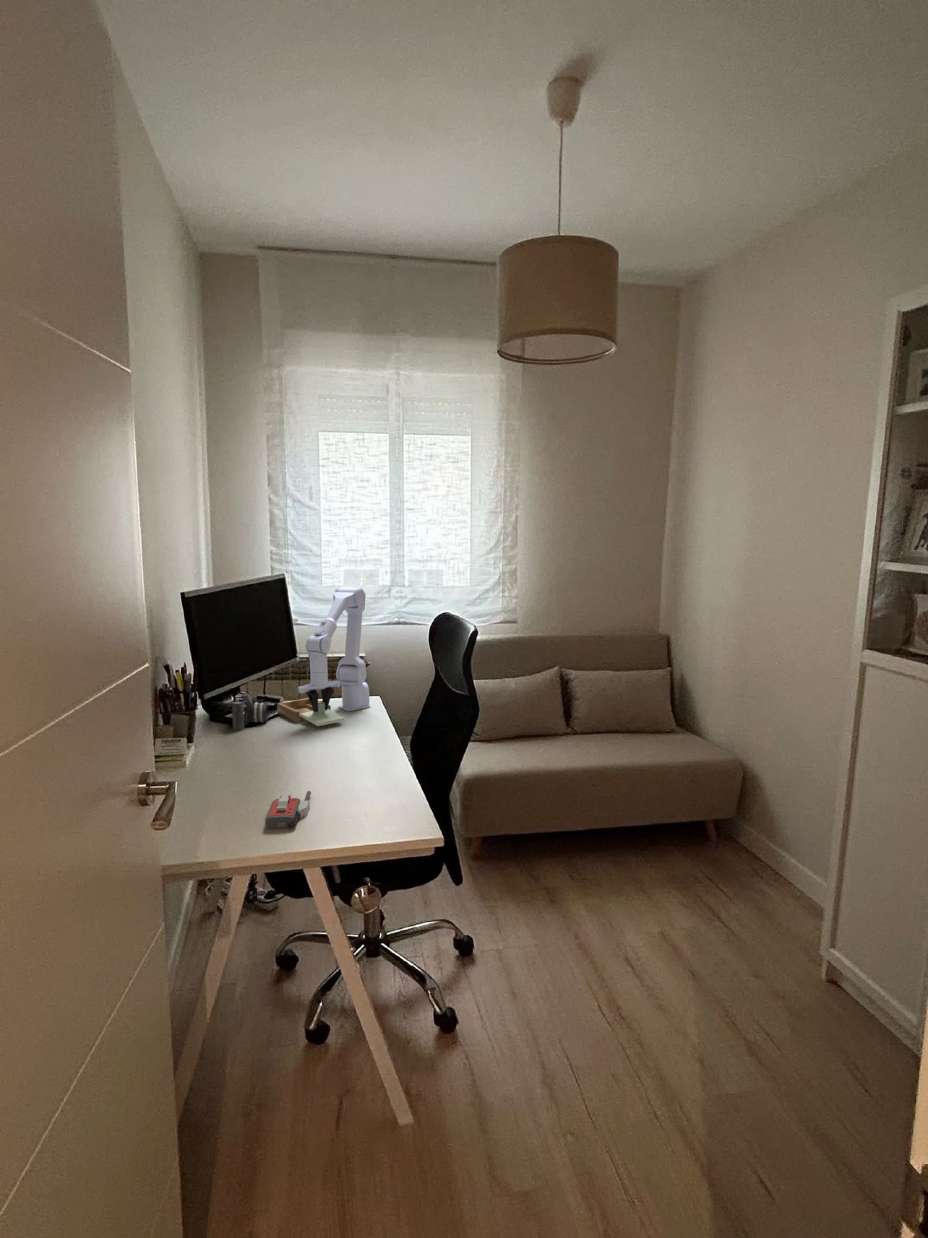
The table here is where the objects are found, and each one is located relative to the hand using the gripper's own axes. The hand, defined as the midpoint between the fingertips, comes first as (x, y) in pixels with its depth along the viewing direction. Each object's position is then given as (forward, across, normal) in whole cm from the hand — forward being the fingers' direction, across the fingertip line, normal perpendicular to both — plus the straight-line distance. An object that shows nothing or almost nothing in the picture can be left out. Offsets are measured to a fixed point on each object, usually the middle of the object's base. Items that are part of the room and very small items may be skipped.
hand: (320, 710), depth 242 cm
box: (+4, 0, -12) cm, 13 cm away
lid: (+2, 0, +1) cm, 3 cm away
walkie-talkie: (+5, +41, +63) cm, 75 cm away
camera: (+5, +19, -14) cm, 24 cm away
